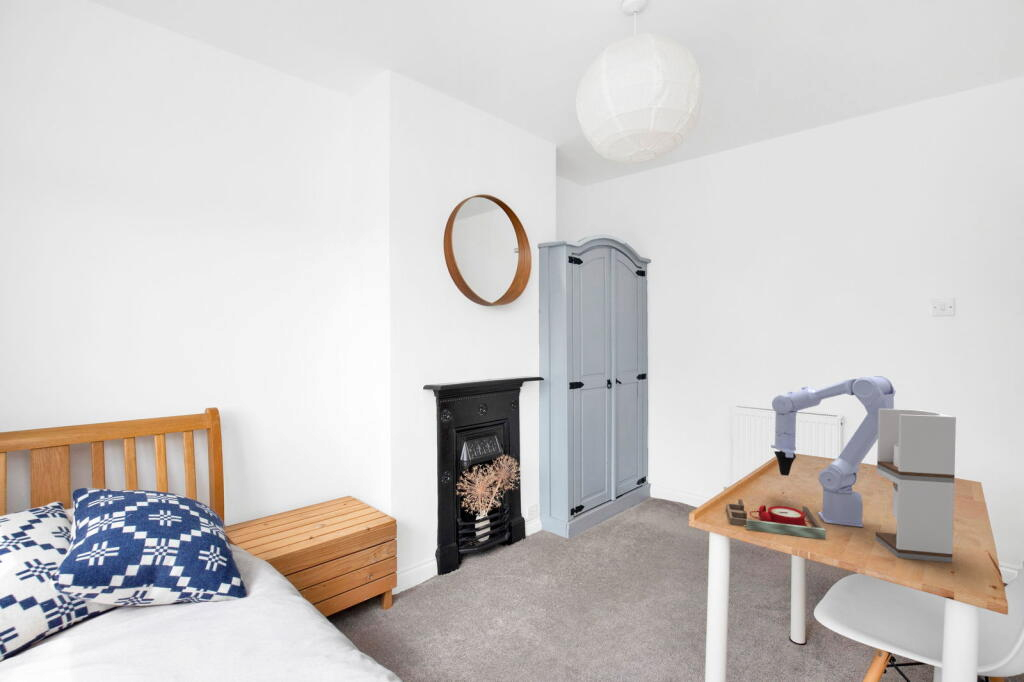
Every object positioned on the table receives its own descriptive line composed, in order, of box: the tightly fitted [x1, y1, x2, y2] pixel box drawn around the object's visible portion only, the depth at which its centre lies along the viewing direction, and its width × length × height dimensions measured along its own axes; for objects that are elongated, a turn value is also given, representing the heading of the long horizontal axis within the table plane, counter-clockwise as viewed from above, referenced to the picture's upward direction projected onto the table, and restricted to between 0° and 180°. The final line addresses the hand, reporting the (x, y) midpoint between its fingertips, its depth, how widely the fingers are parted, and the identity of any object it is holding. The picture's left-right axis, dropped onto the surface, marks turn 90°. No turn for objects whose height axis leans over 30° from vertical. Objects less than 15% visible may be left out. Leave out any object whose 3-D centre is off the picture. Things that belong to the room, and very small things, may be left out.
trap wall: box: [737, 498, 827, 540], centre depth 143 cm, size 19×21×2 cm
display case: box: [875, 408, 957, 563], centre depth 124 cm, size 11×11×35 cm
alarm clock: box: [749, 504, 813, 527], centre depth 141 cm, size 10×6×15 cm
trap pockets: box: [725, 502, 746, 526], centre depth 146 cm, size 4×13×2 cm, turn 161°
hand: (784, 474), depth 157 cm, fingers closed
